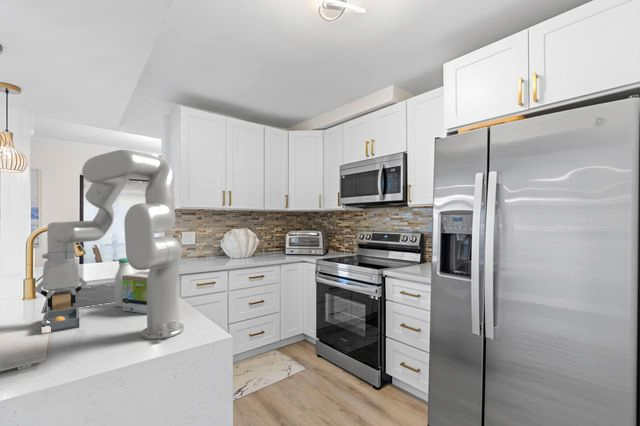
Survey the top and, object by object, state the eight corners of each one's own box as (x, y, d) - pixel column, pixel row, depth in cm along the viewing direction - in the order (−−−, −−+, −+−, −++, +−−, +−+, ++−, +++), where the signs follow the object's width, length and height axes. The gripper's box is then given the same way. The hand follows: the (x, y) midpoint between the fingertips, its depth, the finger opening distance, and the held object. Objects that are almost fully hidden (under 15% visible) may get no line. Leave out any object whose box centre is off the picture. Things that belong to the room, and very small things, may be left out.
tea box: (121, 311, 127) (121, 275, 127) (142, 304, 137) (141, 270, 137) (151, 315, 123) (151, 277, 123) (170, 307, 132) (170, 272, 132)
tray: (79, 327, 109) (79, 318, 109) (41, 334, 103) (40, 324, 103) (79, 315, 123) (79, 307, 123) (45, 320, 117) (45, 312, 117)
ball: (64, 313, 110) (66, 317, 112) (53, 315, 109) (56, 319, 111) (62, 321, 108) (65, 325, 110) (51, 323, 107) (54, 327, 109)
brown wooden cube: (70, 308, 113) (70, 293, 113) (52, 310, 110) (52, 295, 110) (70, 304, 117) (70, 290, 117) (53, 307, 114) (53, 292, 114)
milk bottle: (125, 307, 132) (125, 260, 133) (110, 306, 134) (109, 259, 134) (139, 302, 140) (139, 257, 140) (124, 301, 142) (124, 257, 142)
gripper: (27, 259, 105) (28, 314, 105) (91, 255, 115) (91, 304, 115) (30, 257, 111) (31, 309, 111) (90, 253, 121) (90, 300, 121)
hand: (61, 306), depth 113 cm, fingers closed on brown wooden cube, 5 cm apart
